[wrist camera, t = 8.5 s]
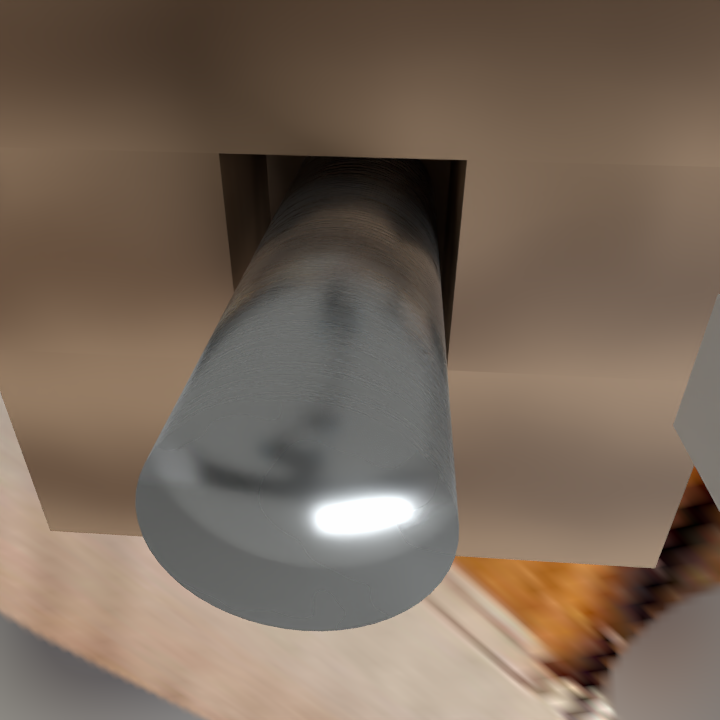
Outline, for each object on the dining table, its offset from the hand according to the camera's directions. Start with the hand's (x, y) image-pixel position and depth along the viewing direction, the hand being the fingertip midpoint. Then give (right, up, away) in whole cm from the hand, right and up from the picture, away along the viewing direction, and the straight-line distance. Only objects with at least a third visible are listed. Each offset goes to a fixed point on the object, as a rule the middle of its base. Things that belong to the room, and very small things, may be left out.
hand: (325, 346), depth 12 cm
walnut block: (+1, +5, +8) cm, 9 cm away
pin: (+1, +4, +6) cm, 8 cm away
